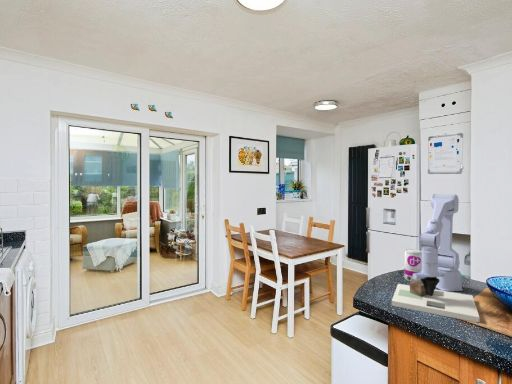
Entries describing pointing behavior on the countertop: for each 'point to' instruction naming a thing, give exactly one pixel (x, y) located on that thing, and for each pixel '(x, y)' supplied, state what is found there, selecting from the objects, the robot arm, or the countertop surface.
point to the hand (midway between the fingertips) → (429, 295)
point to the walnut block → (417, 288)
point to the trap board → (437, 303)
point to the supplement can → (412, 264)
